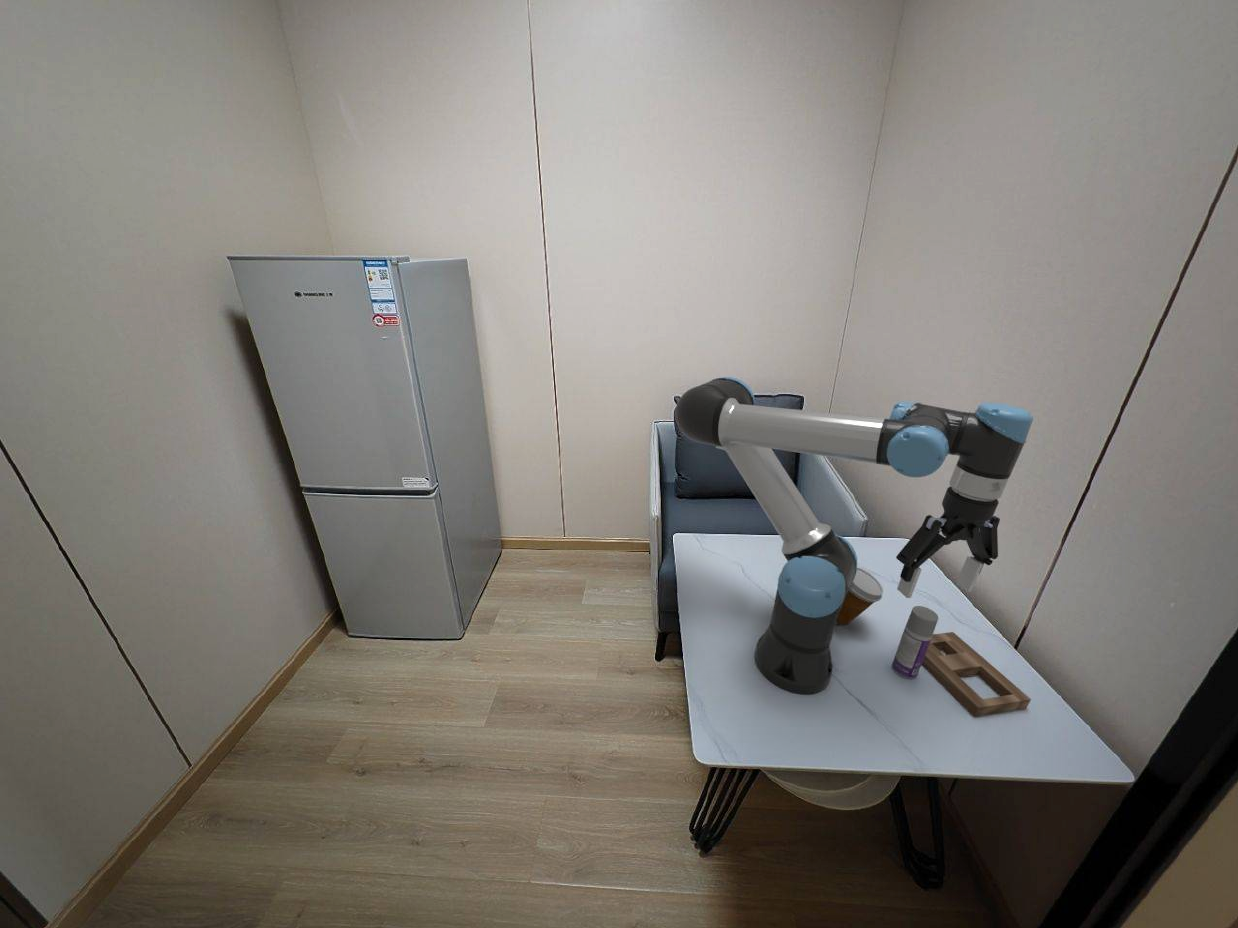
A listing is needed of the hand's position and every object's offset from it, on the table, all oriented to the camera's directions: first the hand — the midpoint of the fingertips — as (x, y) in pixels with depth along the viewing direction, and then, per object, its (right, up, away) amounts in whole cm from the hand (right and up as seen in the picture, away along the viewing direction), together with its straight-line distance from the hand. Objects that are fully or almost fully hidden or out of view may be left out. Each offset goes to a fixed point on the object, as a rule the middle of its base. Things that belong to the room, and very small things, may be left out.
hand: (933, 590), depth 90 cm
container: (-1, -19, +8) cm, 21 cm away
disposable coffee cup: (-9, -12, +22) cm, 26 cm away
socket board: (+10, -20, +7) cm, 23 cm away
